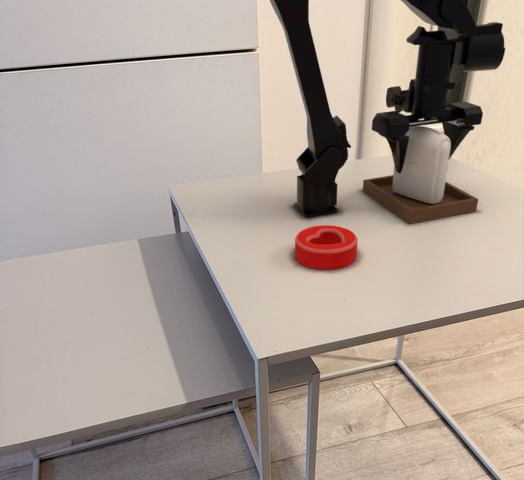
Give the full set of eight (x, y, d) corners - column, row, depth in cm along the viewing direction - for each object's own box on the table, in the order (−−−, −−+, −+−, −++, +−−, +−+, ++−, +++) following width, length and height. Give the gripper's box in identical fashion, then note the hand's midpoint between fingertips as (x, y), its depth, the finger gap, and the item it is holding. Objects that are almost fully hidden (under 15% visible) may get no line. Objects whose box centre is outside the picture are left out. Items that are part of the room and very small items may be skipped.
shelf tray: (409, 224, 93) (411, 211, 92) (362, 191, 107) (363, 179, 105) (476, 211, 96) (478, 199, 95) (422, 181, 110) (423, 169, 109)
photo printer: (387, 192, 103) (394, 124, 96) (402, 186, 105) (410, 120, 98) (430, 207, 97) (441, 135, 89) (446, 201, 99) (457, 130, 91)
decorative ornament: (350, 272, 80) (352, 253, 78) (288, 266, 83) (288, 247, 81) (360, 245, 87) (362, 227, 85) (303, 239, 90) (303, 222, 88)
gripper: (453, 61, 97) (439, 150, 106) (360, 72, 93) (354, 163, 102) (493, 71, 89) (475, 166, 98) (392, 83, 84) (383, 181, 93)
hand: (420, 168), depth 98 cm, fingers open, 9 cm apart
